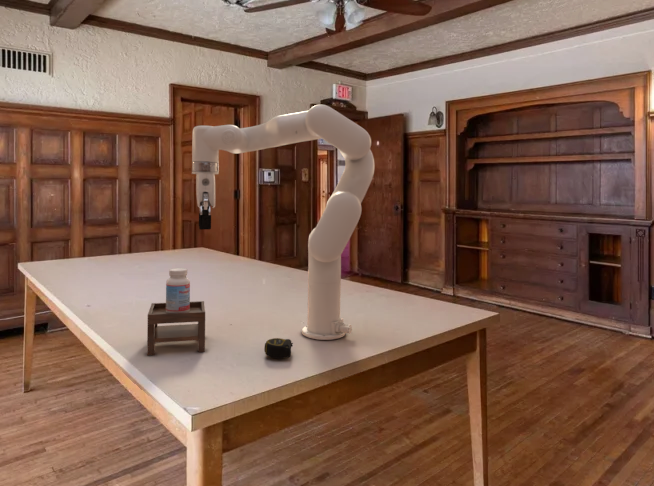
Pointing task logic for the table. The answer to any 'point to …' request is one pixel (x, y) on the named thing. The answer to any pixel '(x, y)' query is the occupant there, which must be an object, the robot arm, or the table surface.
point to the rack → (176, 331)
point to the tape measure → (278, 348)
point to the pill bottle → (177, 291)
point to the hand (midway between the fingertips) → (204, 227)
